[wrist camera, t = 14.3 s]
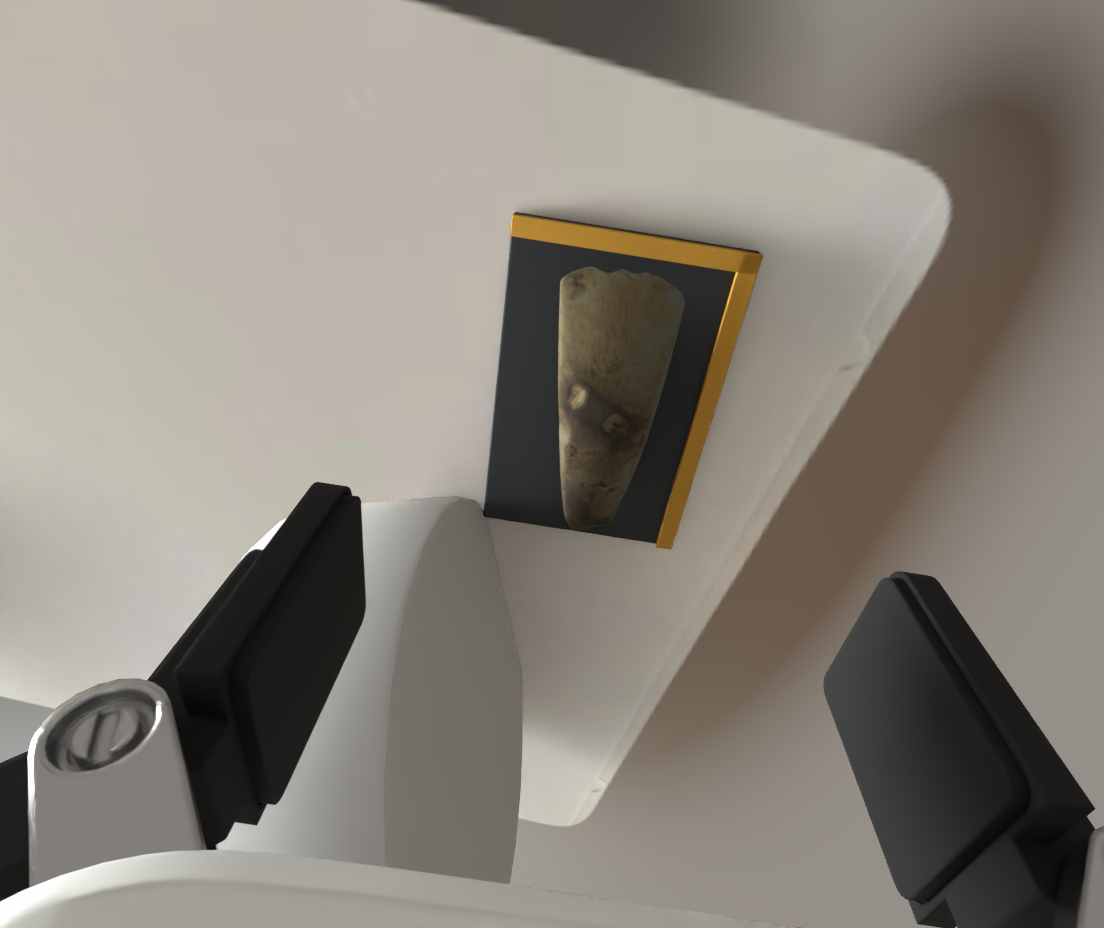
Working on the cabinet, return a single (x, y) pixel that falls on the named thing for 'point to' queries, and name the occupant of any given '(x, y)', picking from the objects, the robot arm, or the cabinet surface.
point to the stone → (609, 382)
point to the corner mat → (532, 370)
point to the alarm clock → (414, 711)
